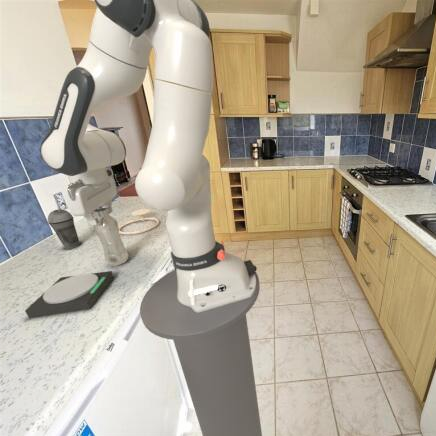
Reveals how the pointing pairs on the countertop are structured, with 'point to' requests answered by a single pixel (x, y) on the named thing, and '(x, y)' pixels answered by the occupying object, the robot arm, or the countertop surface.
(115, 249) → the plastic bottle
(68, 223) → the beverage cup
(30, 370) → the countertop surface
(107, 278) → the kitchen scale
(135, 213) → the hand towel holder
